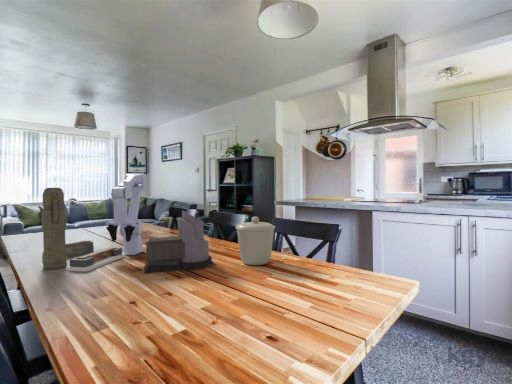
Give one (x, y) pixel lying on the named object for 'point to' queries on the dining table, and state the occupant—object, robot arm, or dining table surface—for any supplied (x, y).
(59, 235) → the olive stone pillar
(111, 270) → the dining table surface
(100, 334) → the dining table surface
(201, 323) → the dining table surface
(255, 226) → the canister
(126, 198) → the robot arm
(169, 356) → the dining table surface
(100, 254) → the walnut slat
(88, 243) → the dark grey stone block
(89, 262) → the end cap cradle
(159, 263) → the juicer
